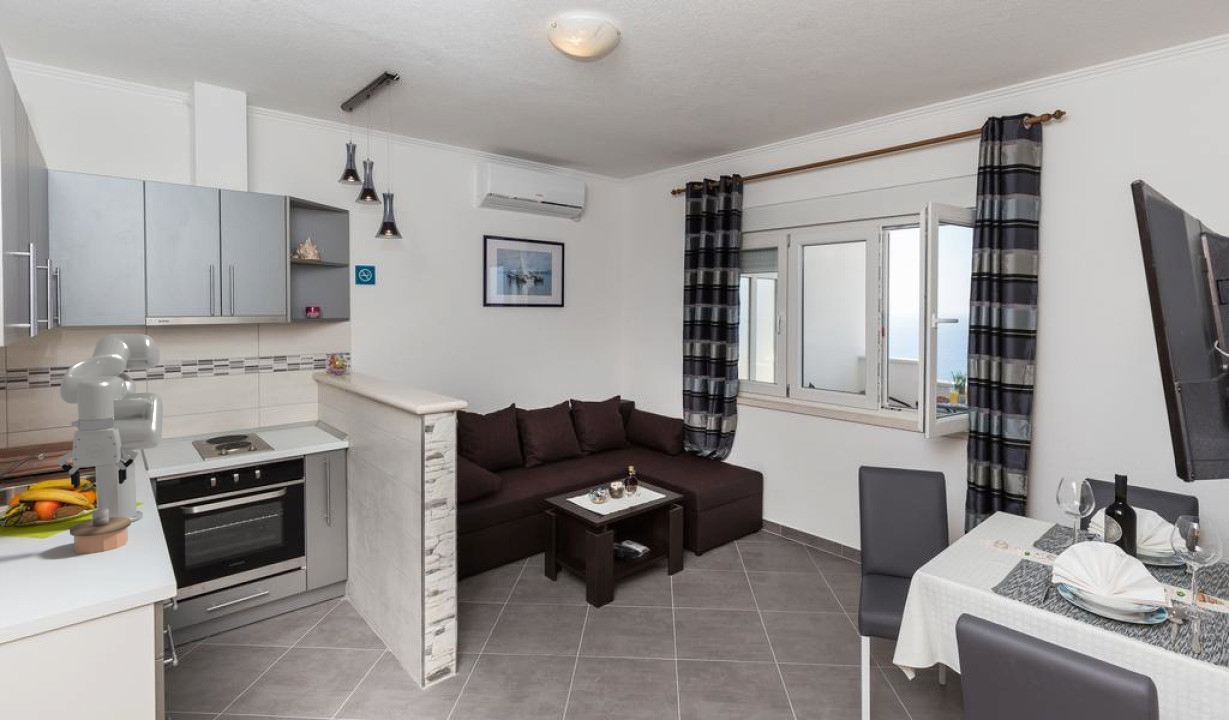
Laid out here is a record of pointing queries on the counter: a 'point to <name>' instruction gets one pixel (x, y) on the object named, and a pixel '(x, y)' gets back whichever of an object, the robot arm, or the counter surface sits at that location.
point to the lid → (100, 524)
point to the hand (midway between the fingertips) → (99, 484)
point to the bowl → (100, 542)
